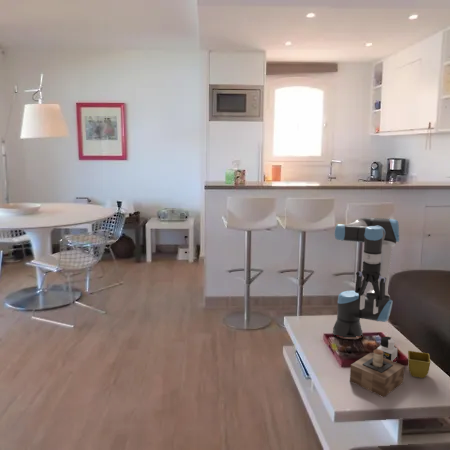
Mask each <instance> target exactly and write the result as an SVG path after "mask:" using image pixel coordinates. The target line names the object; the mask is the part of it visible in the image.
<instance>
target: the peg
mask: <svg viewBox="0 0 450 450" xmlns="http://www.w3.org/2000/svg"><path fill="white" fill-rule="evenodd" d="M372 353H373V366H375V367H377V368H379V369H380V368H382V366H383V351H382V350H379V349H377V348H376V349H374V350H373V352H372Z"/></svg>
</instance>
